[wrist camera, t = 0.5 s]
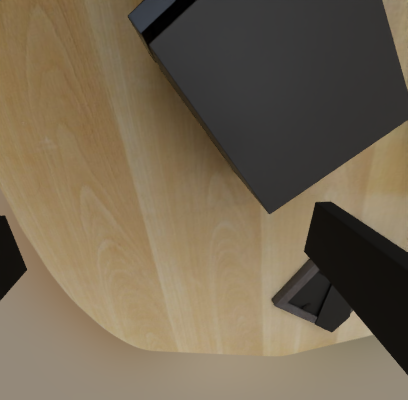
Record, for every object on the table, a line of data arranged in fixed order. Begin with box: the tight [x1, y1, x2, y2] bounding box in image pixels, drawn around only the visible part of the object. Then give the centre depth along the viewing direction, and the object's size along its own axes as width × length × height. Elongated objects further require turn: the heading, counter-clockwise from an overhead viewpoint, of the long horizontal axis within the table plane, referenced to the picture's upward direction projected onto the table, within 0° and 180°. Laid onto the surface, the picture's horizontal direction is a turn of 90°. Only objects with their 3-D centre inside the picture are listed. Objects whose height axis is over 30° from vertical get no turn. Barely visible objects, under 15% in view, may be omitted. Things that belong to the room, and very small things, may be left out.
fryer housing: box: [149, 0, 408, 214], centre depth 22 cm, size 16×14×13 cm
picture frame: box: [272, 259, 353, 332], centre depth 42 cm, size 16×2×21 cm
